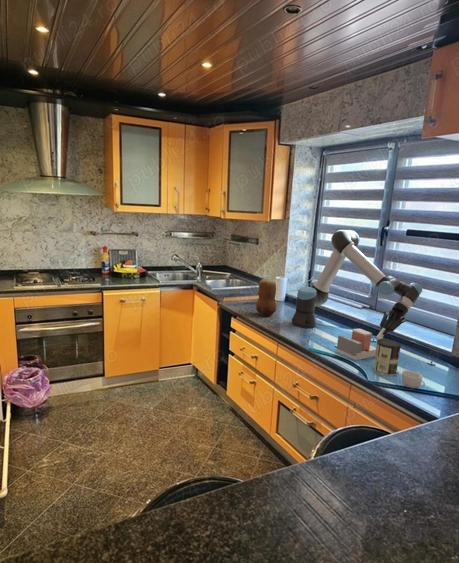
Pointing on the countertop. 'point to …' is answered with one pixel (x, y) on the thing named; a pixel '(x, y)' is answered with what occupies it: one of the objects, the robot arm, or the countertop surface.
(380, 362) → the coffee can
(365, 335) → the orange rectangular block
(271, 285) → the brown curvy cylinder
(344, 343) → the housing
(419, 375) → the teacup
